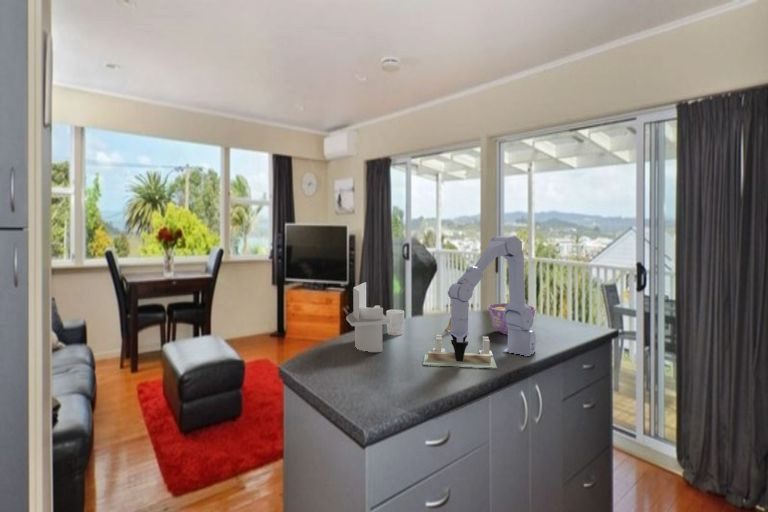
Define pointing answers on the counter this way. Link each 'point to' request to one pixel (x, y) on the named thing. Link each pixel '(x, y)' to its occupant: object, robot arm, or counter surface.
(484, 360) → the oak rail
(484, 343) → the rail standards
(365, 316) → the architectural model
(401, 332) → the white cup
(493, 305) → the bowl of food
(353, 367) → the counter surface
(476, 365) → the green mat
